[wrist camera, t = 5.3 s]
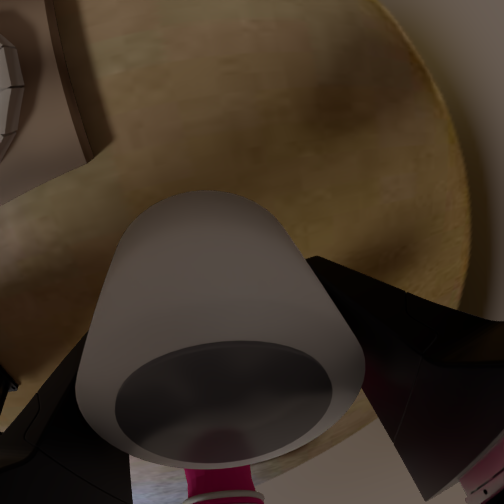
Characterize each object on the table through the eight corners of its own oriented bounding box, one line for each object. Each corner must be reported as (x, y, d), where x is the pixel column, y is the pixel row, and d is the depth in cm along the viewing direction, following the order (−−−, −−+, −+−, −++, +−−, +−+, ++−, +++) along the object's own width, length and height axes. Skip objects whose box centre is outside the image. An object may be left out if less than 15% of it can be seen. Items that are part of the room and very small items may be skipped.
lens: (305, 320, 12) (361, 432, 7) (156, 362, 11) (158, 484, 7) (277, 165, 9) (373, 252, 4) (81, 227, 8) (12, 354, 4)
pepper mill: (262, 361, 26) (336, 585, 9) (203, 399, 27) (240, 601, 10) (203, 318, 23) (259, 614, 5) (142, 365, 24) (152, 609, 7)
